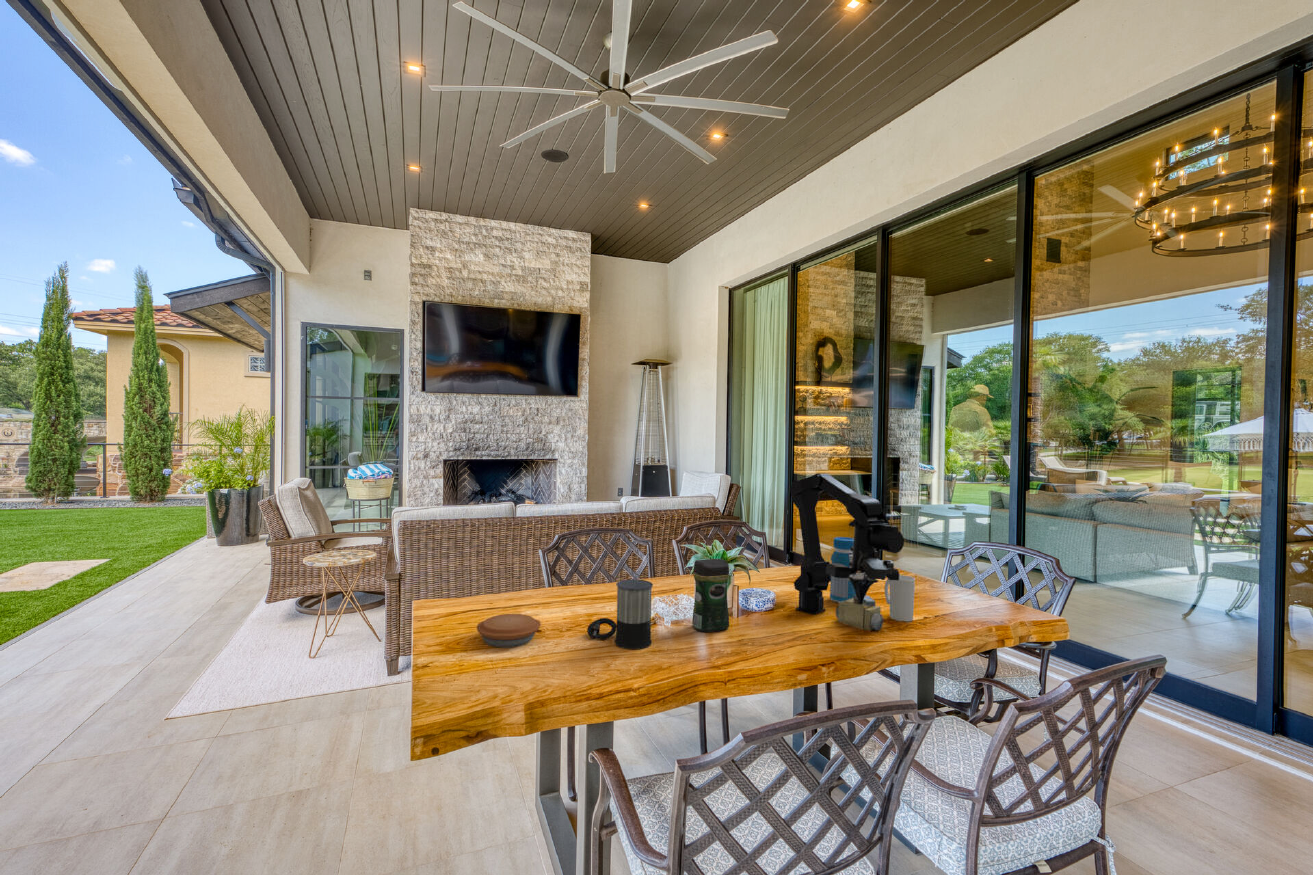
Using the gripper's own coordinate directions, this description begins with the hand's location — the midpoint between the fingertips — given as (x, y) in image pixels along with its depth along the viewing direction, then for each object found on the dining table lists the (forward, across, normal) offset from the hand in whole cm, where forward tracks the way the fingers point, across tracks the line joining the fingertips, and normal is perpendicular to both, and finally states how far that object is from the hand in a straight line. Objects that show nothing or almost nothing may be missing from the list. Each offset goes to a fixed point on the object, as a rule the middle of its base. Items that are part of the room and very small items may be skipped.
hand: (860, 603), depth 154 cm
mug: (+7, +19, +12) cm, 24 cm away
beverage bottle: (+7, +12, +29) cm, 32 cm away
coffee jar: (+10, -39, +8) cm, 41 cm away
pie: (+14, -91, +6) cm, 92 cm away
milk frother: (+12, -64, +2) cm, 65 cm away
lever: (+1, +3, +2) cm, 4 cm away
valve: (+8, +4, +6) cm, 11 cm away
